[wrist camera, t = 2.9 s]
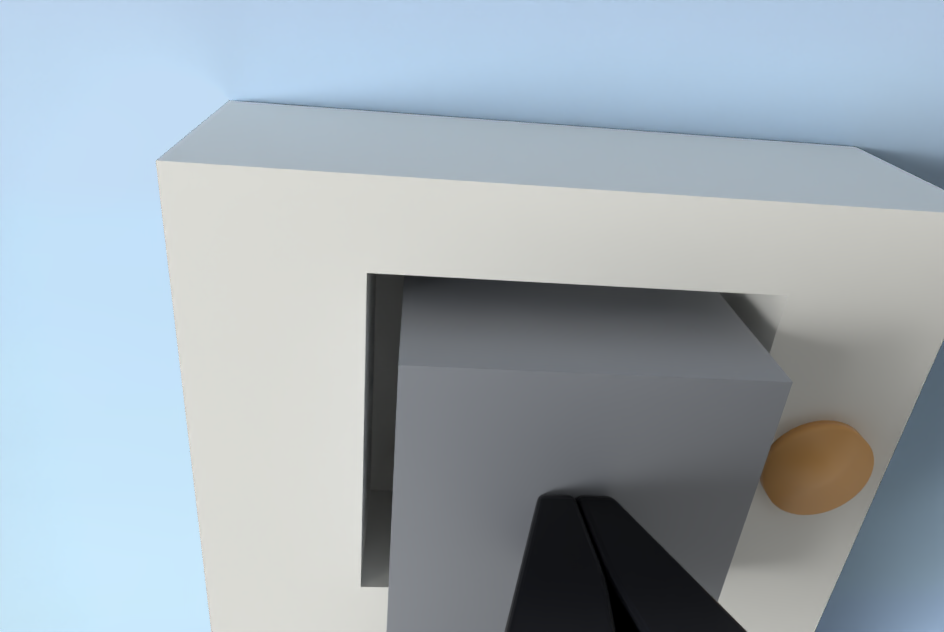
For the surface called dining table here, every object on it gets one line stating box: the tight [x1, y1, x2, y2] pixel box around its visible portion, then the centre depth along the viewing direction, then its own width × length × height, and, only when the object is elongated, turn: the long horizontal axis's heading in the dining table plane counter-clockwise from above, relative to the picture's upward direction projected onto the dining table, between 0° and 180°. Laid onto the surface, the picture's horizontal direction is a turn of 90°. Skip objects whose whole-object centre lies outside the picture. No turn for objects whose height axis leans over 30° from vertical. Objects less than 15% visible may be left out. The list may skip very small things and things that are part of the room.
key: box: [387, 275, 793, 632], centre depth 9 cm, size 4×4×3 cm
